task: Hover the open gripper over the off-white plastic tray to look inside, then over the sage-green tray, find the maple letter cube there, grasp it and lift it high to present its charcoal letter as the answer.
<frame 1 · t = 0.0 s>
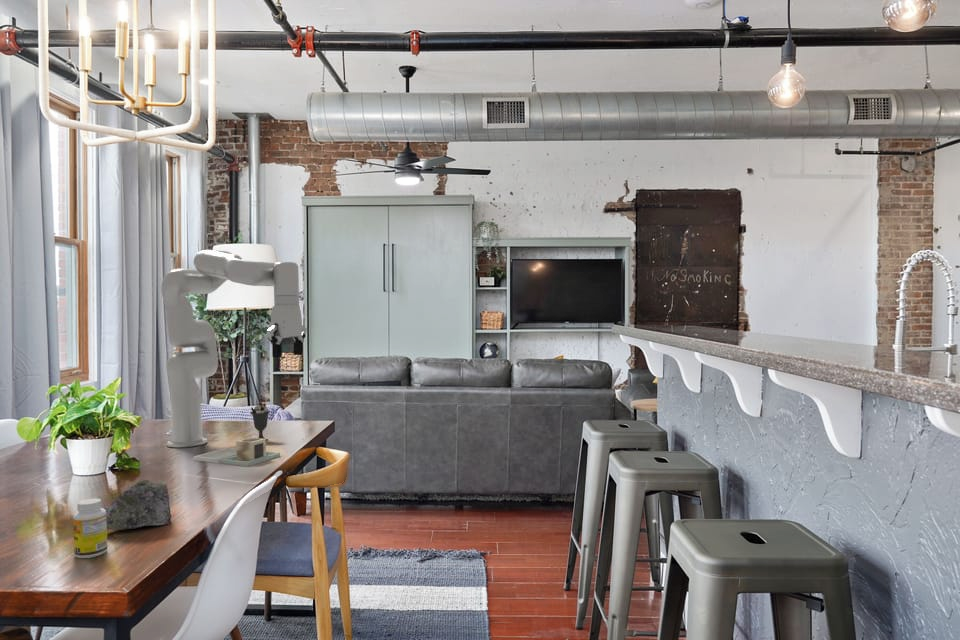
hand: (287, 356, 213), 31 cm above the table, fingers open, 9 cm apart
letter cube: (251, 459, 206), resting on tray sage
tray sage: (251, 460, 206), on the table
sundae: (261, 441, 237), on the table
mineral rock: (138, 527, 146), on the table
supplement bottle: (91, 555, 130), on the table
tray white: (223, 457, 211), on the table
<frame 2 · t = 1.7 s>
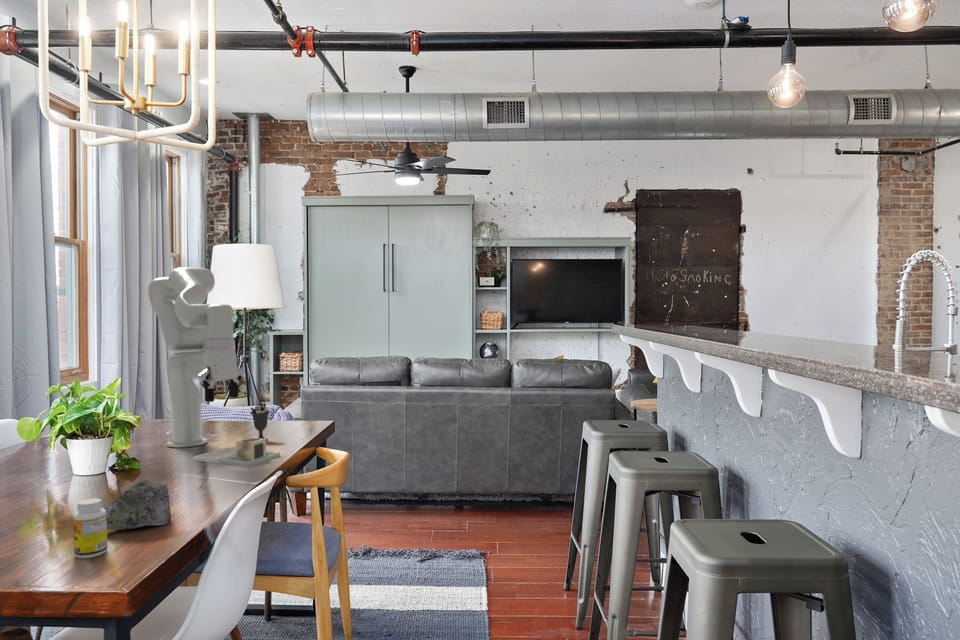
hand: (221, 399, 210), 18 cm above the table, fingers open, 9 cm apart
nothing on the table moved.
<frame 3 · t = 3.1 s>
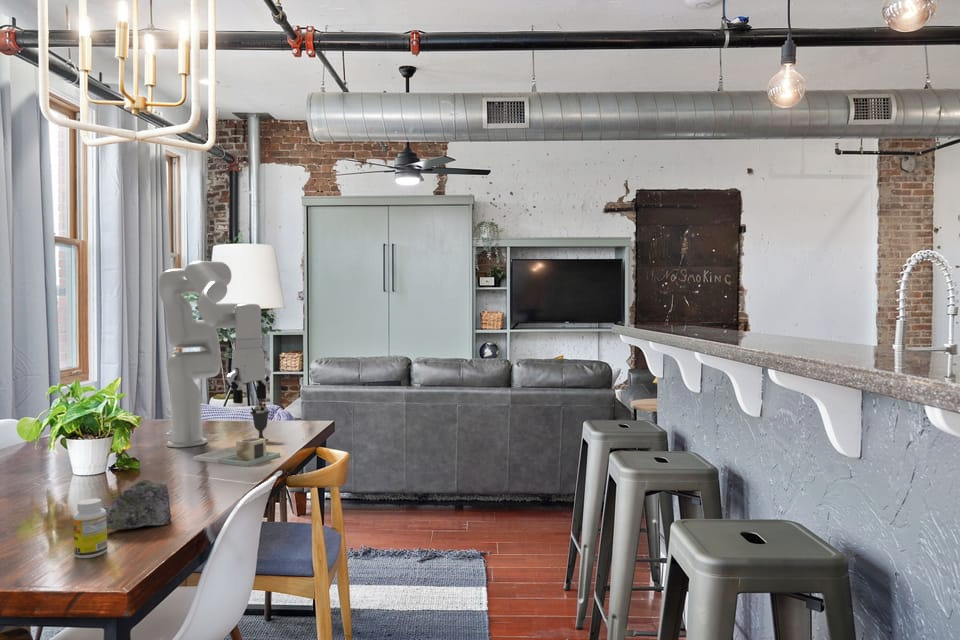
hand: (250, 400, 205), 18 cm above the table, fingers open, 9 cm apart
nothing on the table moved.
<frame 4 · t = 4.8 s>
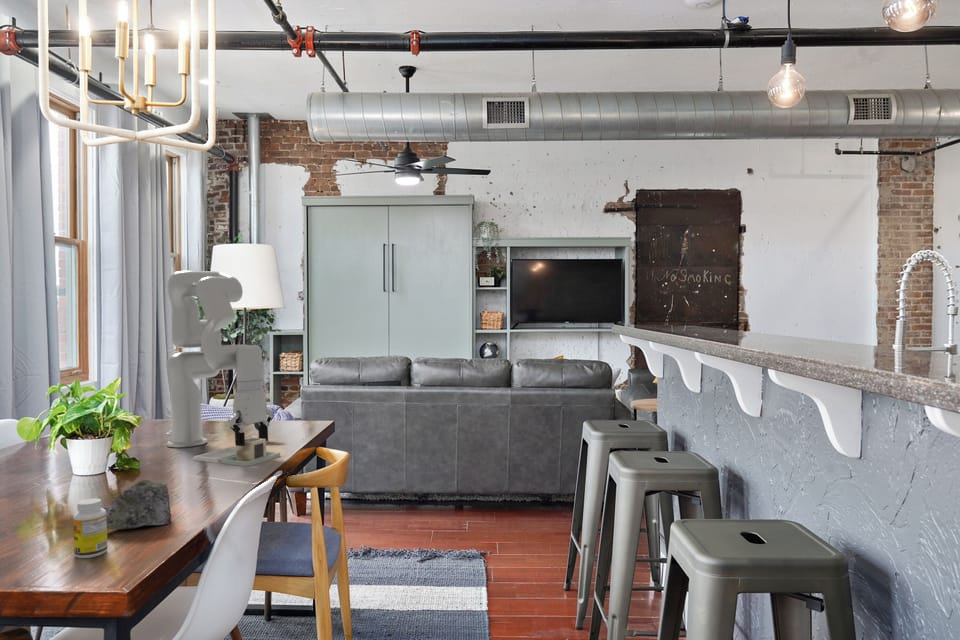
hand: (252, 442, 205), 6 cm above the table, fingers open, 9 cm apart
nothing on the table moved.
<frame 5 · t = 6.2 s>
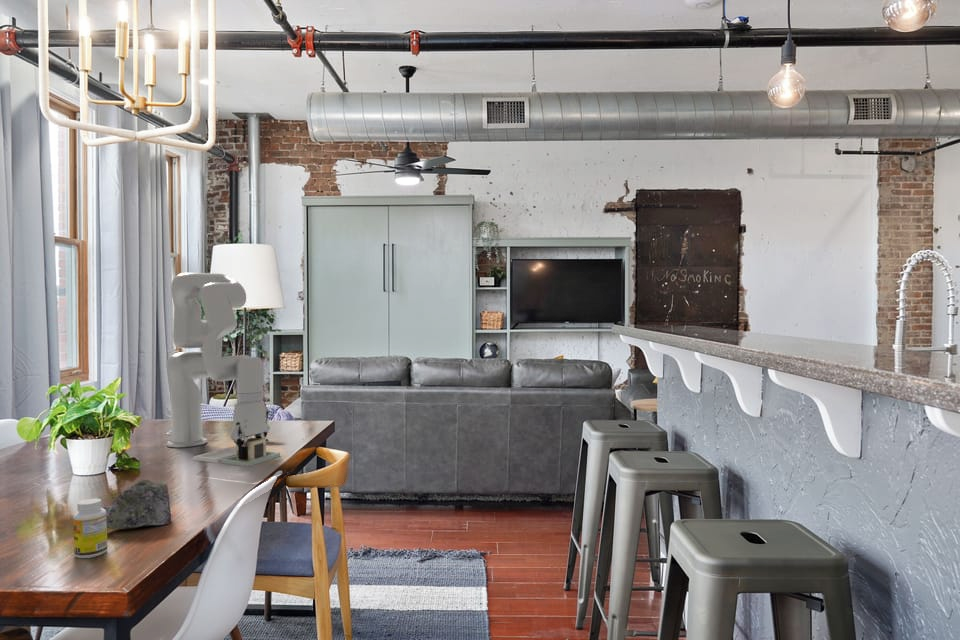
hand: (251, 456, 206), 1 cm above the table, fingers closed on letter cube, 5 cm apart
letter cube: (251, 459, 206), resting on tray sage, touching gripper
everything else where it was.
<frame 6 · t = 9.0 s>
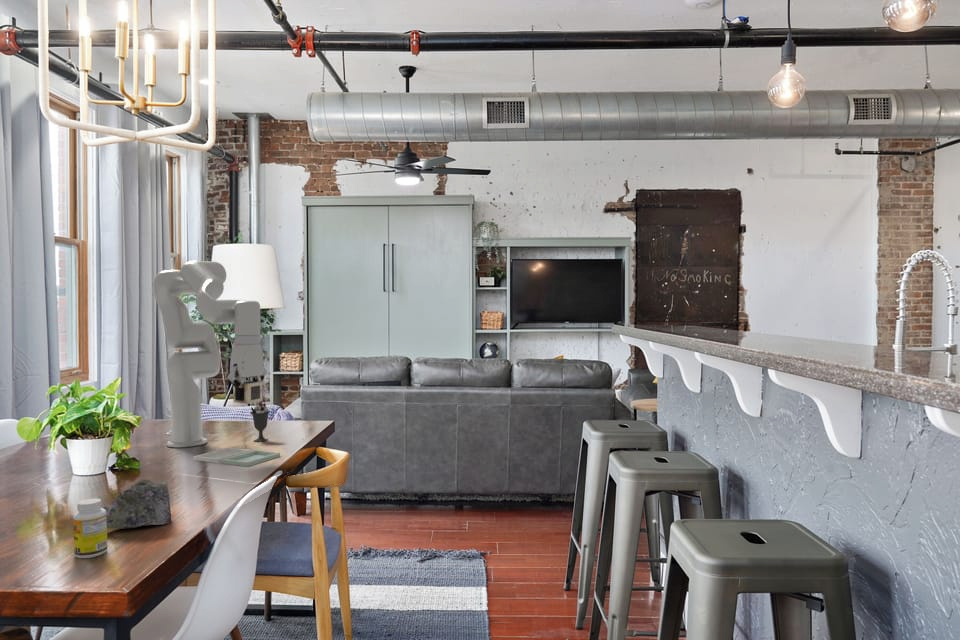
hand: (248, 398, 209), 19 cm above the table, fingers closed on letter cube, 5 cm apart
letter cube: (248, 401, 209), point 18 cm above the table, touching gripper
everything else where it was.
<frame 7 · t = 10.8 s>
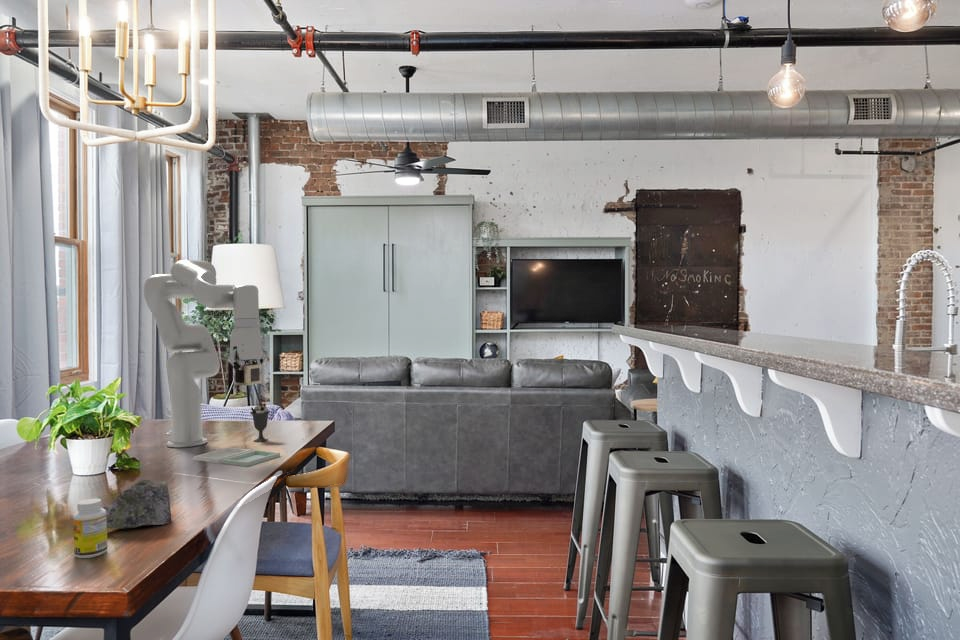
hand: (247, 380, 214), 24 cm above the table, fingers closed on letter cube, 5 cm apart
letter cube: (247, 384, 214), point 23 cm above the table, touching gripper
everything else where it was.
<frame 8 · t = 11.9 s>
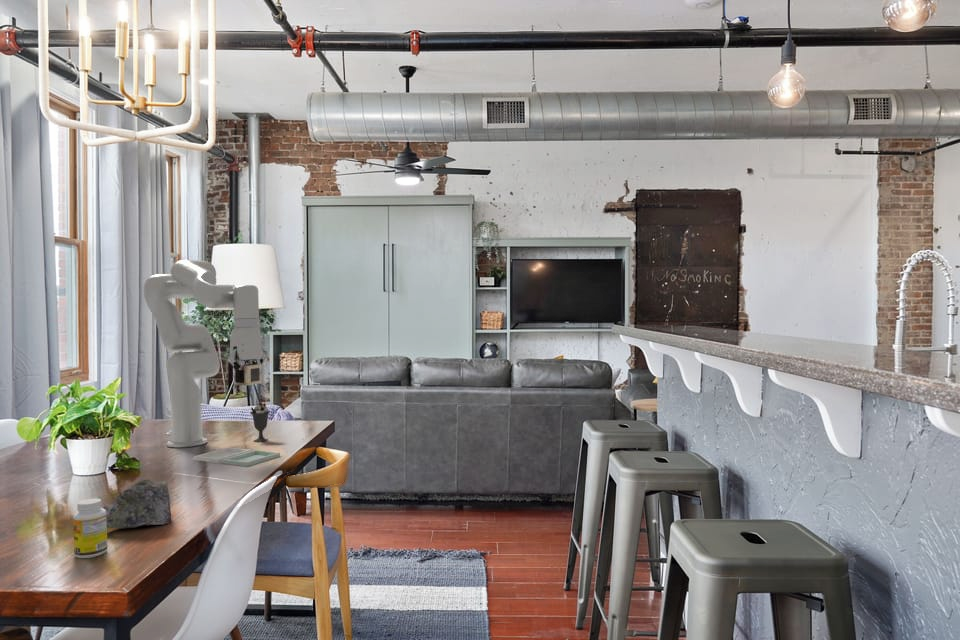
hand: (247, 380, 214), 24 cm above the table, fingers closed on letter cube, 5 cm apart
letter cube: (247, 384, 214), point 23 cm above the table, touching gripper
everything else where it was.
at the end: the gripper is holding letter cube; letter cube point 22.5 cm above the table; letter cube moved 23.8 cm from its start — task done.
